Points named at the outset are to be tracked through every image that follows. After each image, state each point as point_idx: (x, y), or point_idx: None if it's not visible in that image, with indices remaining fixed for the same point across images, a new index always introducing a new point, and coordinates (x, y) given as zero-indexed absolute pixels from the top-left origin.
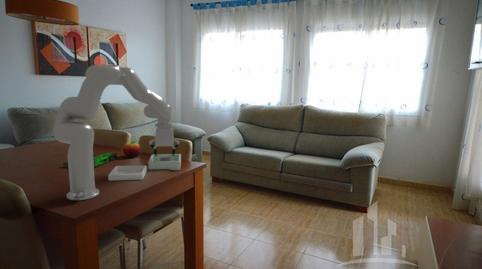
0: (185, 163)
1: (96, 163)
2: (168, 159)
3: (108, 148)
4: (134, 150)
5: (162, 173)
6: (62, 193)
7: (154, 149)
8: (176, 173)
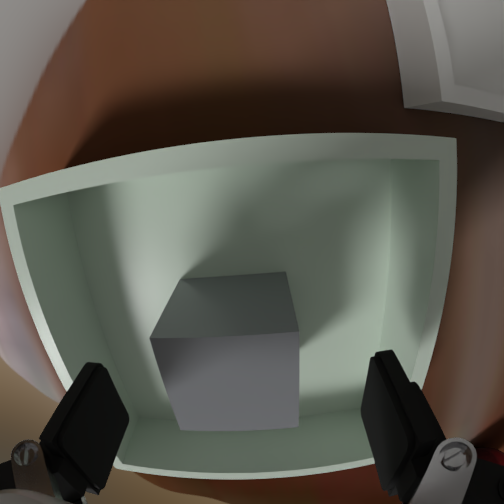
0: None
1: None
2: (171, 319)
3: None
4: None
5: (219, 30)
6: None
7: (438, 444)
8: (78, 53)
